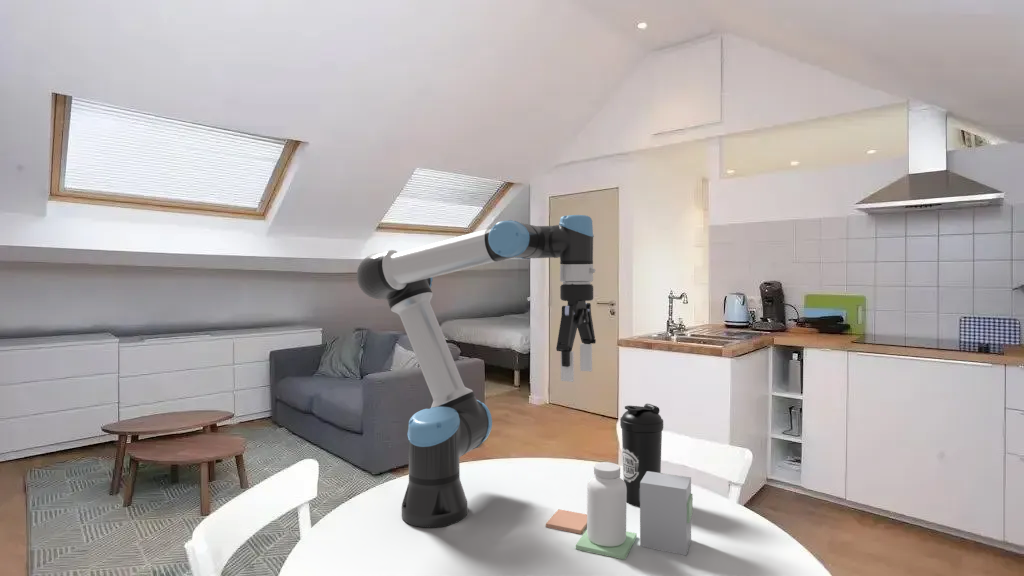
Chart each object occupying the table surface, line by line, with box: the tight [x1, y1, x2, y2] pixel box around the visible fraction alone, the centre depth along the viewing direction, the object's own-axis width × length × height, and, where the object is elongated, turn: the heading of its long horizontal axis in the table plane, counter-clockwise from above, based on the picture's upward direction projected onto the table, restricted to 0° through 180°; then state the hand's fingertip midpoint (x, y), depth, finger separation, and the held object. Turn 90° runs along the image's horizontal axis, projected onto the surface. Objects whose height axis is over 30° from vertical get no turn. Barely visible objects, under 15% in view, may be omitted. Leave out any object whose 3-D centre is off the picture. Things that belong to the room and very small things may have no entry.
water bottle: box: [619, 403, 664, 508], centre depth 134 cm, size 10×10×23 cm
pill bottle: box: [586, 461, 627, 547], centre depth 113 cm, size 8×8×15 cm
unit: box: [639, 471, 694, 556], centre depth 113 cm, size 10×7×13 cm
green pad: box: [575, 529, 638, 560], centre depth 113 cm, size 10×10×1 cm
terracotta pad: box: [545, 509, 587, 535], centre depth 122 cm, size 8×8×1 cm
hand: (577, 375), depth 127 cm, fingers open, 13 cm apart
